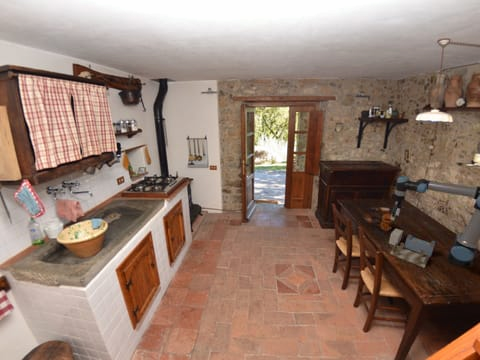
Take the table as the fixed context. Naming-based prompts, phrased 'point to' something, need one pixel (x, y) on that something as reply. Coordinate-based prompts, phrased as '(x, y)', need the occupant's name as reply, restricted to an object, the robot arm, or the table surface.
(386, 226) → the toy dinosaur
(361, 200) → the table surface
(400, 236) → the wing bar
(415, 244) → the notched blue block
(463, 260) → the robot arm
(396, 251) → the jig board
